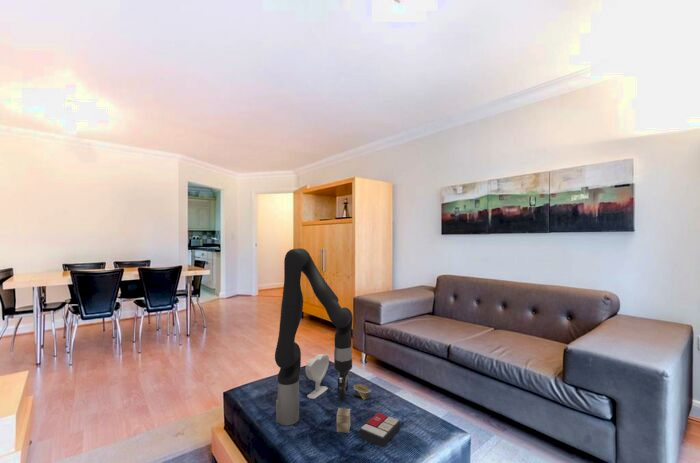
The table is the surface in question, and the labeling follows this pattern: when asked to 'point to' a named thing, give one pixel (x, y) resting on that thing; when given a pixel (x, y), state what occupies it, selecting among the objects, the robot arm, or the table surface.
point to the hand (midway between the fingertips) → (343, 395)
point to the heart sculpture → (317, 373)
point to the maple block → (343, 420)
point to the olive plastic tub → (362, 391)
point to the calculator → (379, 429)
